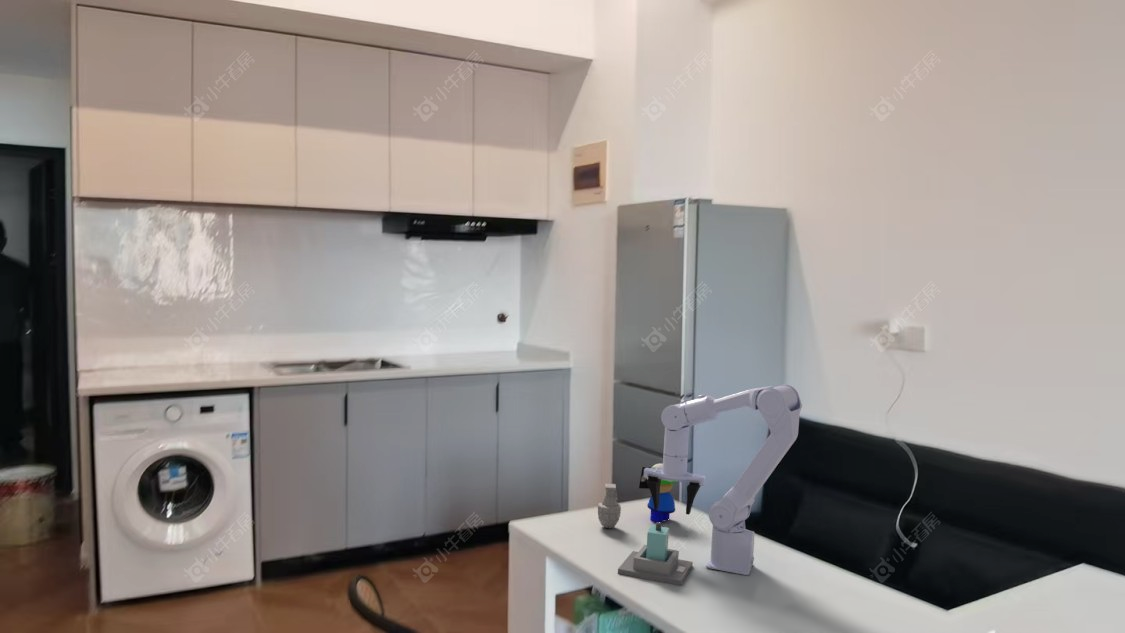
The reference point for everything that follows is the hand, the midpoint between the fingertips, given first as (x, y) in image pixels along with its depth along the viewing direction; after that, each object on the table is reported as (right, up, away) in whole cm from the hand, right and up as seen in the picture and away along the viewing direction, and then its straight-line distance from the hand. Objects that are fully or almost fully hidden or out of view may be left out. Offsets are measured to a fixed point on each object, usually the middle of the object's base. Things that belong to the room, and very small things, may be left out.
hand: (672, 510), depth 184 cm
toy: (-1, -8, +23) cm, 24 cm away
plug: (-5, -9, -12) cm, 16 cm away
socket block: (-5, -10, -12) cm, 17 cm away
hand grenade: (-14, -8, +14) cm, 22 cm away
